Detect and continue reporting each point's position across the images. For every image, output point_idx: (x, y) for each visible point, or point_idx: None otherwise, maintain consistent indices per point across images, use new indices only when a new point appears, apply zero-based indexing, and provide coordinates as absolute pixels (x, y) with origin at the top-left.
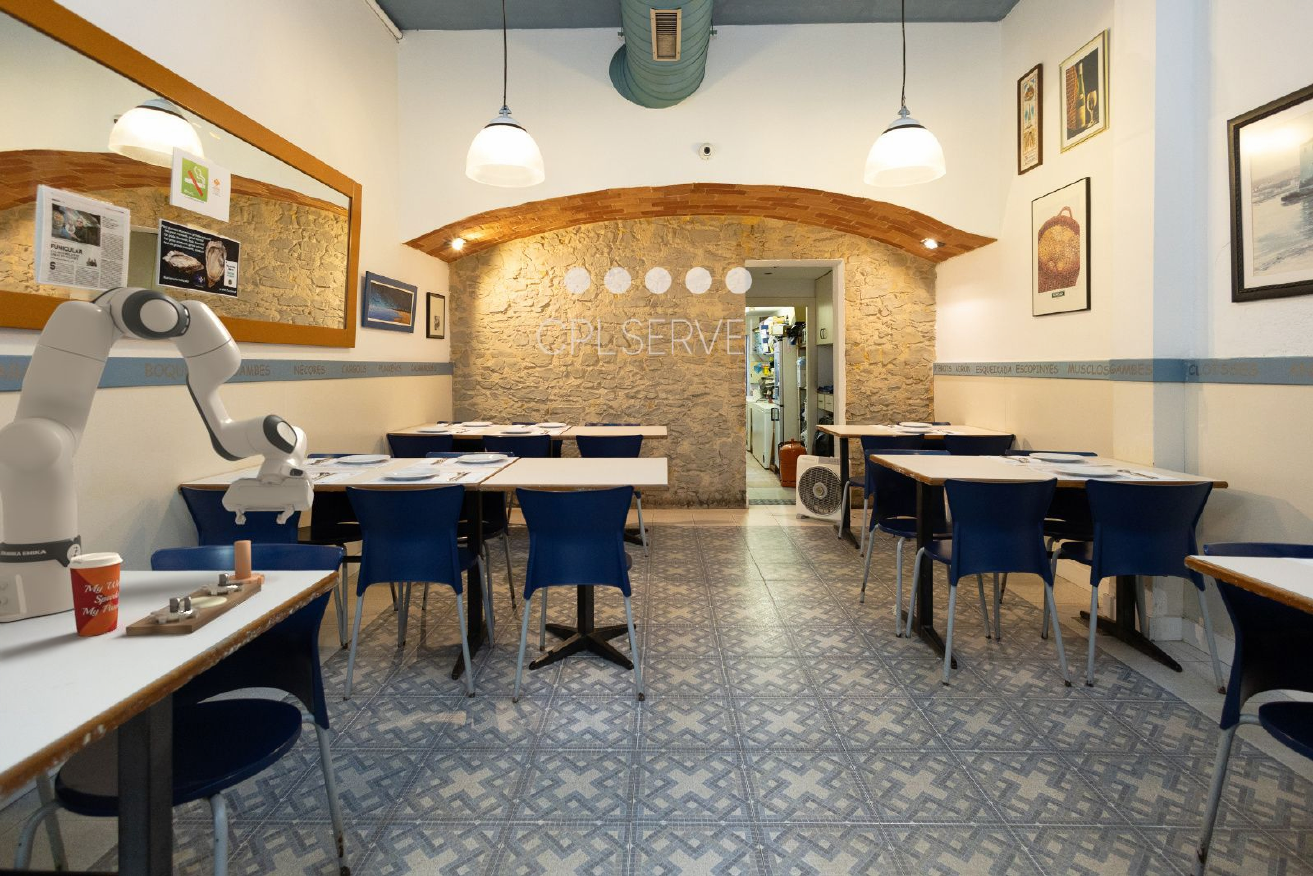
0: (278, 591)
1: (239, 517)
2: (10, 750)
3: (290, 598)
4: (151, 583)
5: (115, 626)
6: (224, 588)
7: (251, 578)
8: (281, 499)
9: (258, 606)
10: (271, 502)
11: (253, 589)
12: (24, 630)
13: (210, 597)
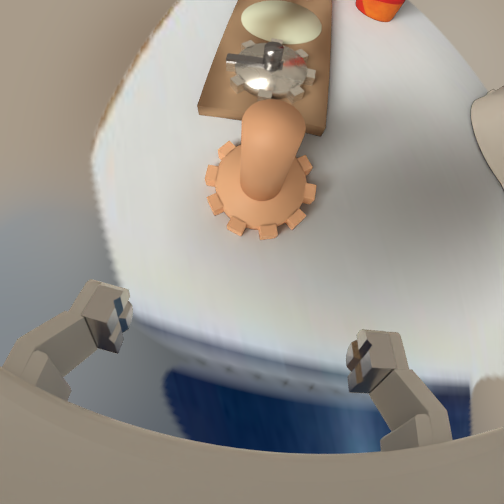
0: (161, 103)
1: (386, 346)
2: None
3: (137, 59)
4: (462, 264)
5: (356, 2)
6: (260, 44)
7: (234, 165)
8: (42, 431)
9: (188, 29)
10: (142, 434)
11: (208, 75)
12: (453, 52)
13: (277, 37)
